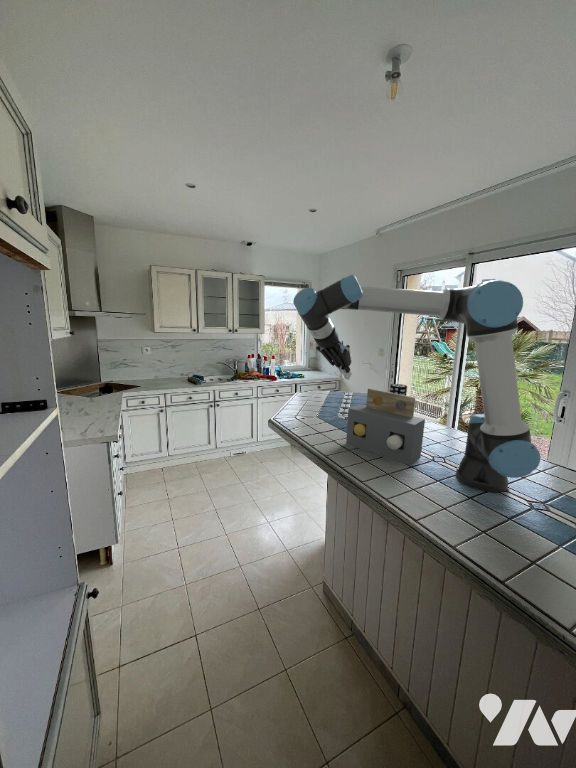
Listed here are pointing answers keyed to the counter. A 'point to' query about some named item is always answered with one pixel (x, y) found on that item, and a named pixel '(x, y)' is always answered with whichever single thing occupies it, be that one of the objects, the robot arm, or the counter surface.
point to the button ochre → (360, 429)
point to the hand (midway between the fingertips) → (348, 376)
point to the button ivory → (395, 441)
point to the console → (386, 433)
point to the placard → (391, 402)
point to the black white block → (398, 389)
